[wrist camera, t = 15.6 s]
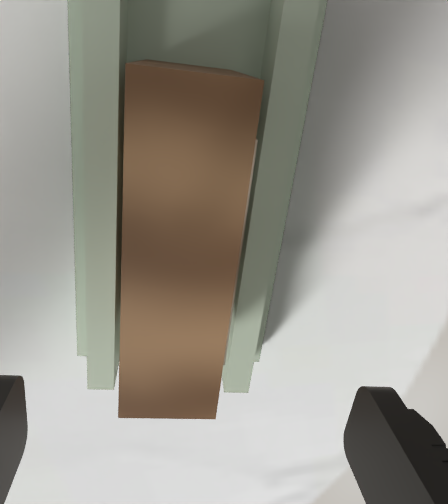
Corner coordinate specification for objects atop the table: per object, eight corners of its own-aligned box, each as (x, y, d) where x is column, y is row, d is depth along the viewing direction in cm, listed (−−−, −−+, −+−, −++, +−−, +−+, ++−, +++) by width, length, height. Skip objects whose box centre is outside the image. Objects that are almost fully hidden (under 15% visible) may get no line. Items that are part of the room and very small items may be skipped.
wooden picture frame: (209, 309, 27) (222, 419, 19) (136, 305, 26) (118, 417, 18) (237, 70, 21) (273, 81, 13) (146, 59, 21) (125, 63, 13)
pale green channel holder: (255, 348, 31) (267, 393, 26) (82, 341, 29) (66, 388, 25) (320, -7, 22) (352, -20, 18) (73, -45, 20) (46, -70, 16)
